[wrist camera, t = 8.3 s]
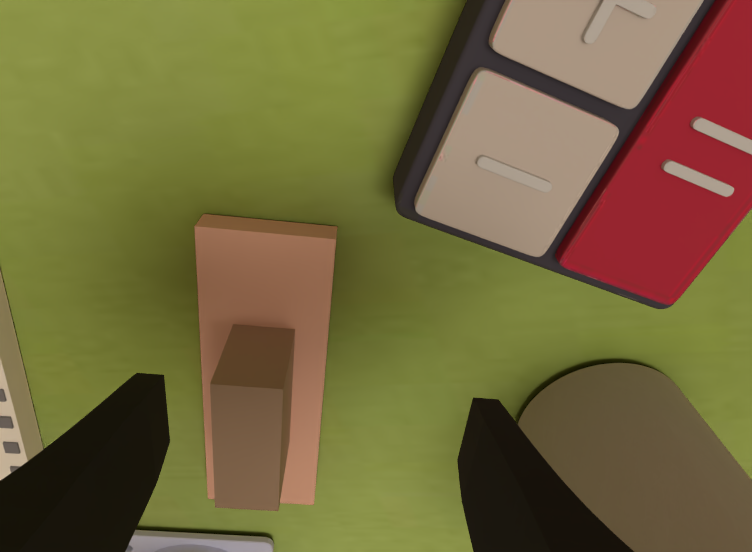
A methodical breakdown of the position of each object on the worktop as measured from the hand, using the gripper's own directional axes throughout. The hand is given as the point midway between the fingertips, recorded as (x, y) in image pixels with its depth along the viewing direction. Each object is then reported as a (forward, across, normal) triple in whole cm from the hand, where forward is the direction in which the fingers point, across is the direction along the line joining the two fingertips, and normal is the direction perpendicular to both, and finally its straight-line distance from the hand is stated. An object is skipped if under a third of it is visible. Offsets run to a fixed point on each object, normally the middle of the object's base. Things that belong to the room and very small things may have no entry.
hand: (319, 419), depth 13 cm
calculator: (+10, -9, -8) cm, 16 cm away
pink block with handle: (+9, +3, +6) cm, 11 cm away
